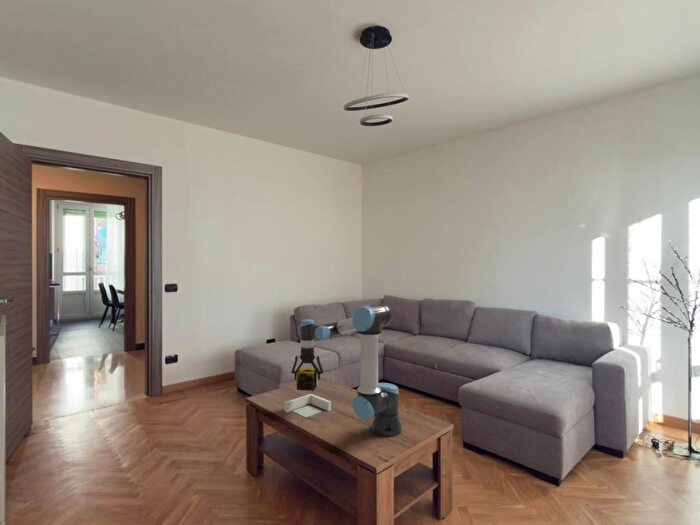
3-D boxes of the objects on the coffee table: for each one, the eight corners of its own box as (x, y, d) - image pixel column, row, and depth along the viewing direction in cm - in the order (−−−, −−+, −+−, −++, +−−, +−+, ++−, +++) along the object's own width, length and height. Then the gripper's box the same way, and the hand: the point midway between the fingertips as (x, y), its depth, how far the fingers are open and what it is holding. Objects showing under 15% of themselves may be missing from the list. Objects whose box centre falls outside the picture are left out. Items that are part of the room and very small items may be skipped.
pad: (322, 411, 218) (322, 411, 218) (305, 417, 209) (305, 417, 209) (308, 405, 226) (308, 405, 226) (292, 411, 218) (292, 411, 218)
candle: (313, 391, 212) (313, 373, 212) (296, 390, 214) (296, 372, 214) (318, 385, 222) (318, 368, 222) (301, 384, 224) (301, 367, 224)
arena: (331, 410, 220) (331, 401, 220) (303, 420, 206) (303, 411, 206) (311, 401, 233) (311, 393, 233) (284, 411, 219) (284, 402, 219)
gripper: (328, 345, 221) (328, 383, 222) (288, 345, 221) (288, 383, 222) (327, 348, 214) (327, 387, 214) (286, 348, 214) (286, 387, 214)
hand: (307, 385), depth 218 cm, fingers closed on candle, 11 cm apart
